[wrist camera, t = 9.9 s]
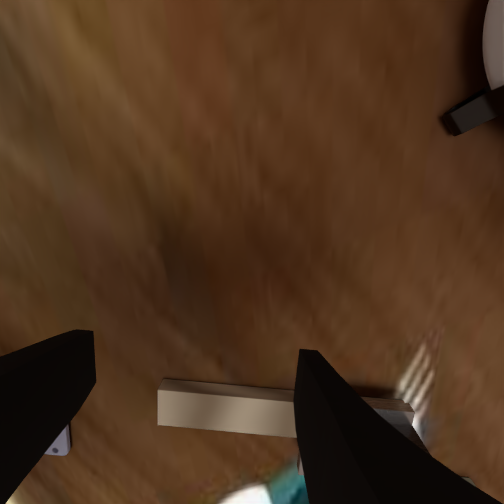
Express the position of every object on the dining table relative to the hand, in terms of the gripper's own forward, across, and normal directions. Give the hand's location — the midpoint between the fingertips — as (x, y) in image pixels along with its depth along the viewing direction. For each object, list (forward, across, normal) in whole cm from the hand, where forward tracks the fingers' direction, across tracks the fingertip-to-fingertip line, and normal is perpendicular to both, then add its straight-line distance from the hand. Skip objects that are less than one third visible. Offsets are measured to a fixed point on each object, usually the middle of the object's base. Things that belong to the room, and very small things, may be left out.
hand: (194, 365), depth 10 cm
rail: (+10, -4, +10) cm, 15 cm away
